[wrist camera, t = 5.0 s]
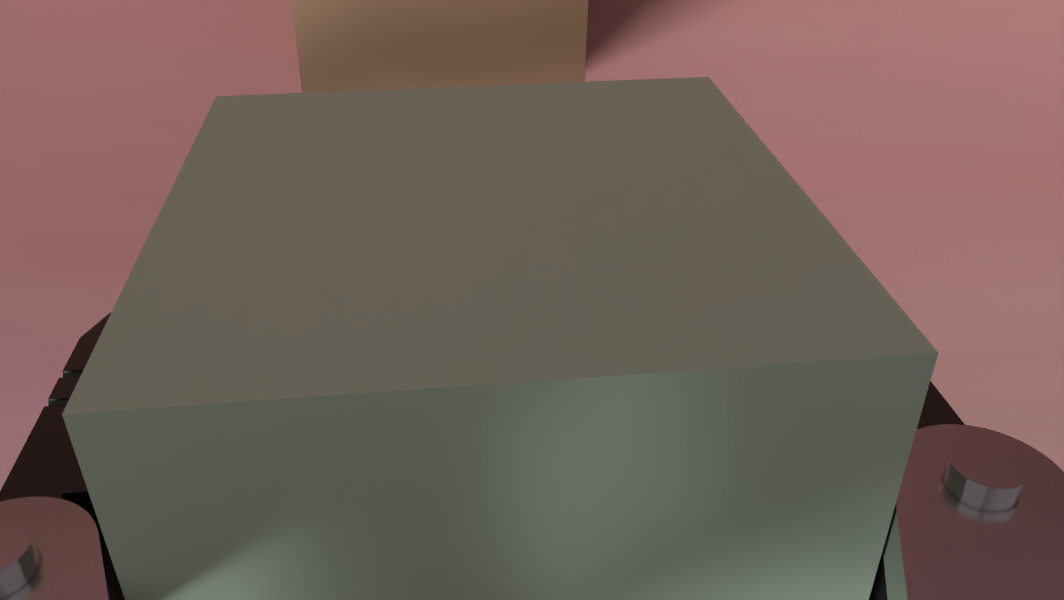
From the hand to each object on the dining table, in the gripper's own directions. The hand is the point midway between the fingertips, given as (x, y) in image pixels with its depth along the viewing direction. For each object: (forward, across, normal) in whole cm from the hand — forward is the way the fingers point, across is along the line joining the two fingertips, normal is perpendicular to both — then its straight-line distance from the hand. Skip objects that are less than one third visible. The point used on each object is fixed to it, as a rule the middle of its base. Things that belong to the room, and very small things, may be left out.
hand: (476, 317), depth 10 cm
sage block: (0, 0, 0) cm, 0 cm away
